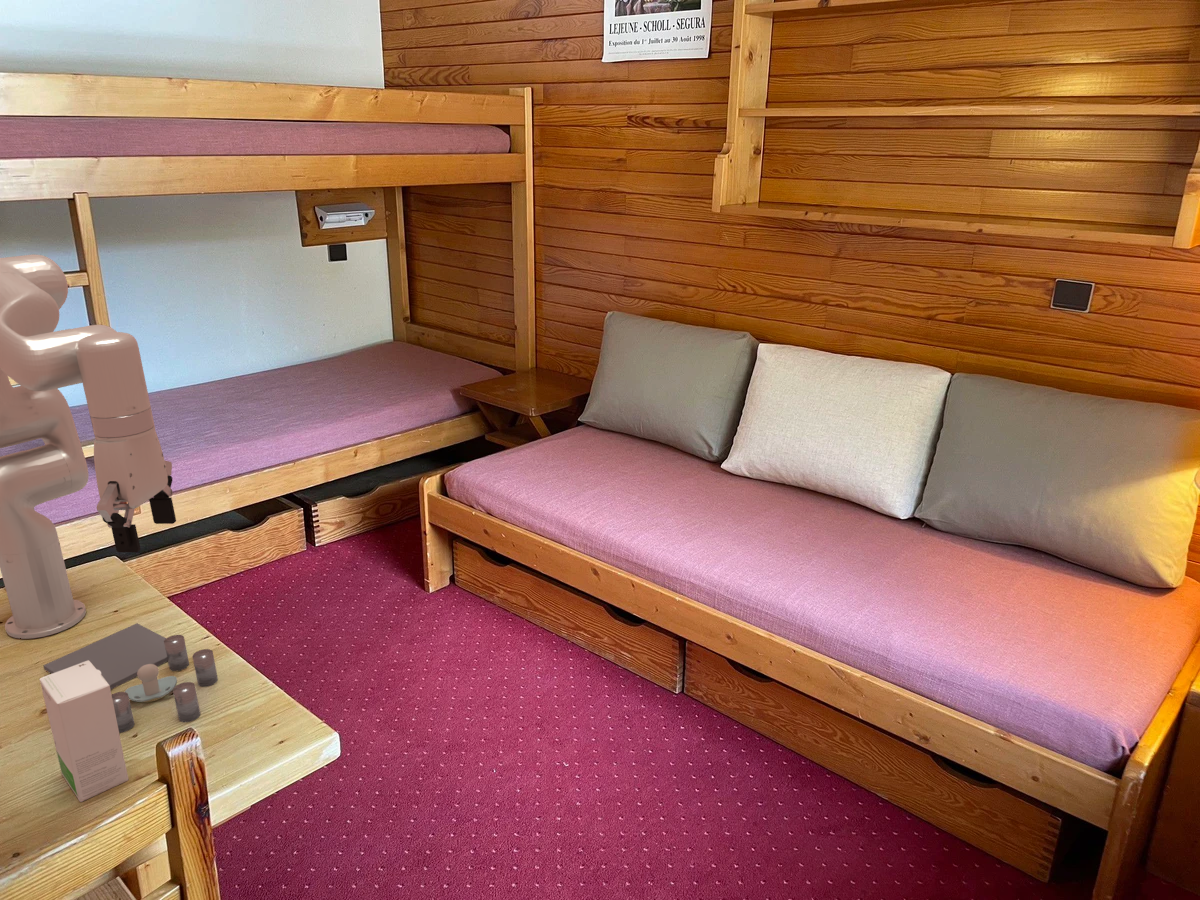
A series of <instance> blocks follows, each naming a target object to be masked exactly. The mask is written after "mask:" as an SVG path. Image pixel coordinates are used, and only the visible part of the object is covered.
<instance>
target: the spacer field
mask: <svg viewBox="0 0 1200 900" xmlns="http://www.w3.org/2000/svg"><path fill="white" fill-rule="evenodd" d="M165 638H166V639H165V640H164V645H165V649H166V654H167V659H168V661H167V663H168V668H169V670H170V671H172V672H179V671H180V672H181V671H183V670H185V669H187V668H189V666H190V659H189V657H188V650H187V646H186V640H185V636H184V635H182V634H174V635H171V636H167V637H165ZM191 657H192V660H193V666H194V672H195V676H196V677H195V678H196V681H197V686H199V687H201V688H202V687H204V688H205V687H206V688H207V687H210V686H213V685H215V684H216V683H217V682H218V681H219V676H218V674H217V673H218V672H217V666H216V661H215V657H214V652H213V650H212V649H209V648H205V649H204V648H203V649H200V650H197V651H196V652H194V653H193V654H192V656H191ZM172 693H173V697H174V703H175V706H176V710H177V711H176V712H177V717H178V720H179V722H181V723H190V722H193V721H195V720H197V719H199V717H200V716H201V709H200V705H199V699H198V693H197V690H196V684H195V683H194V682H191V681H184V682H181V683H178V684H176V685H175V687H174V688H173V690H172ZM111 694H112V699H113V705H114V709H115V714H116V720H117V725H118V730H119V734H122V733H126V732H128V731H130V730H131V729H132V728H134V726H135V718H134V714H133V711H132V705H131V702H130V699H129V696H128V693H126V692H125V691H119V692H115V693H111Z"/></svg>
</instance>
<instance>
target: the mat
mask: <svg viewBox="0 0 1200 900" xmlns="http://www.w3.org/2000/svg"><path fill="white" fill-rule="evenodd" d="M166 638H167V637H164V636H163V635H161V634H159V633H157V632H155V631H153V630H151V629H149V628H147V627H145V626H143V625H141V624H139V623H137V622H136V623H135V624H132V625H130V626H128V627H126V628H124V629H120V630H119V631H116V632H114V633H113V634H110V635H107V636H106V637H105V636H104V637H103V638H101V639H99V640H97V641H95V642H92V643H90V644H87V645H86V646H83V647H81V648H79V649H77V650H75V651H72V652H70V653H68V654H66V655H63V656H60V657H59V658H57V659H54V660H52V661H50V662H48V663H45V664H42V665H43V670H44V671H46V672H47V671H48V672H47V673H49V674H50V673H51V674H53V673H55V672H58V671H61V670H64V669H66V668H69V667H72V666H74V665H77V664H80V663H82V662H85V661H88V660H89V661H90V662H91V663H92V664H93V666H94V667H95V668H96V669H97V670H100V671H101V675H102V676H103V678H104V679H105V680H106V681H107V683H108V684H109V685H110V689H111V690H113V689H114V688H117V687H119V686H121V685H122V684H125V683H127V682H129V681H131V680H133V679H136V678H138V676H137V672H138V670H139V669H140V668H141V667H142V666H144V665H146V664H154V665H156V666H157V667H159V666H162V665H163V664H166V663H168V659H167V654H166V649H165V645H164V640H165V639H166Z"/></svg>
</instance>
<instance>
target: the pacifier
mask: <svg viewBox="0 0 1200 900" xmlns="http://www.w3.org/2000/svg"><path fill="white" fill-rule="evenodd" d="M159 669H160V668H159V666H156V665H154V664H146V665H144V666H142V667H141V668H140V669H139V670H138V672H137V678H138V679H139V681H141V683H140V684H136V685H133V686H129V687H128V688H127V689H125V691H124V692H126V693H128V696H129V701H130V700H131V701H133V702H138V703H149V702H154V701H157V700H160V699H162V698H164V697H165V696H166V695H168V694H170V693H171V692H173V688H174V687H175V686H177V682H178V678H177V677H176V676H175V675H169V676H168V675H167V676H164V677H162V678H158V676H159V674H160V670H159Z"/></svg>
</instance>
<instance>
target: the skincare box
mask: <svg viewBox="0 0 1200 900" xmlns="http://www.w3.org/2000/svg"><path fill="white" fill-rule="evenodd" d="M38 680H39V683H40V686H41V691H42V696H43V700H44V704H45V708H46V713H47V718H48V722H49V726H50V730H51V734H52V739H53V742H54V747H55V751H56V756H57V760H58V763H59V768H60V774H61V775H62V777H63V778H64V780H65V782H66V783H67V784H68V786H69V787H70V789H71V791H73V794H75V796H76V798H77V799H78V802H80V803H82V802H84V801H87V800H88V799H91V798H93V797H95V796H97V795H99V794H102V793H103V792H106V791H108V790H110V789H113V788H115V787H117V786H119V785H121V784H123V783H126V782H127V781H129V775H128V769H127V765H126V761H125V757H124V755H125V754H124V750H123V746H122V745H123V744H122V740H121V736H120V733H119V730H118V725H117V720H116V714H115V709H114V705H113V699H112V694H113V693H112V689H110V685H109V684H108V683H107V681H106V680H105V679H104V678H103V676H102V675H101V671H100V670H97V669H96V668H95V667H94V666H93V664H92V663H91V662H90V661H89V660H88V661H85V662H82V663H80V664H77V665H74V666H72V667H69V668H66V669H64V670H61V671H58V672H55V673H53V674H50V673H49V674H48V675H44V676H42V677H41V678H39V679H38Z"/></svg>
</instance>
